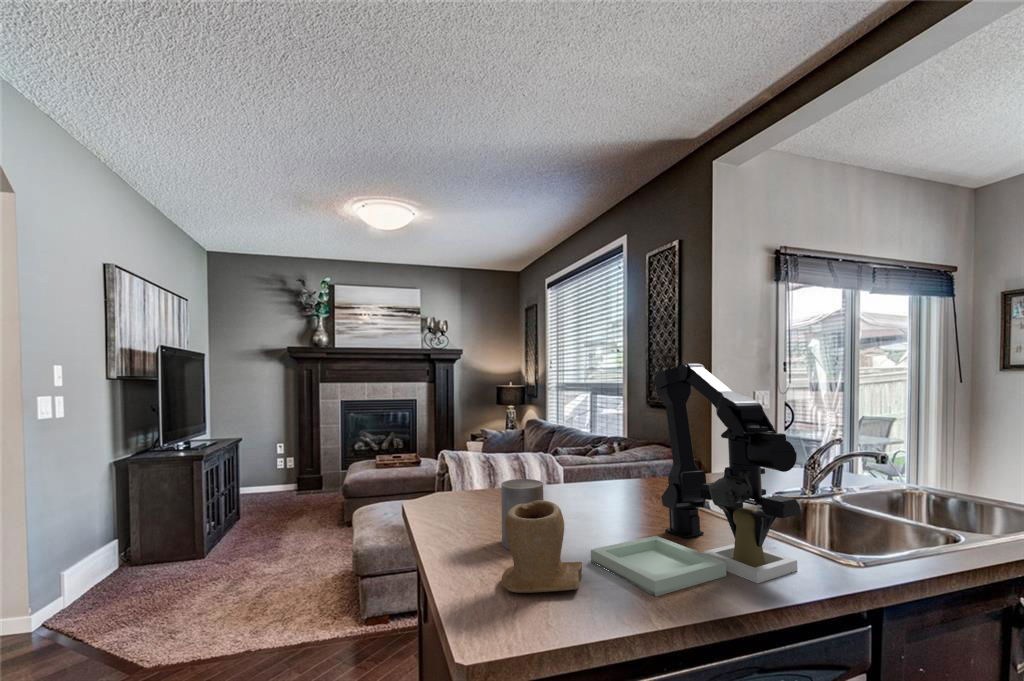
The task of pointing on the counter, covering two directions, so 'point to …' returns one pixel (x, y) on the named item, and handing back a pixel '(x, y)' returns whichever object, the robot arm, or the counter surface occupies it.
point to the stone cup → (538, 550)
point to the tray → (658, 564)
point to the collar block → (773, 569)
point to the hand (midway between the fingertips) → (748, 542)
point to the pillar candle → (518, 497)
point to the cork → (746, 539)
